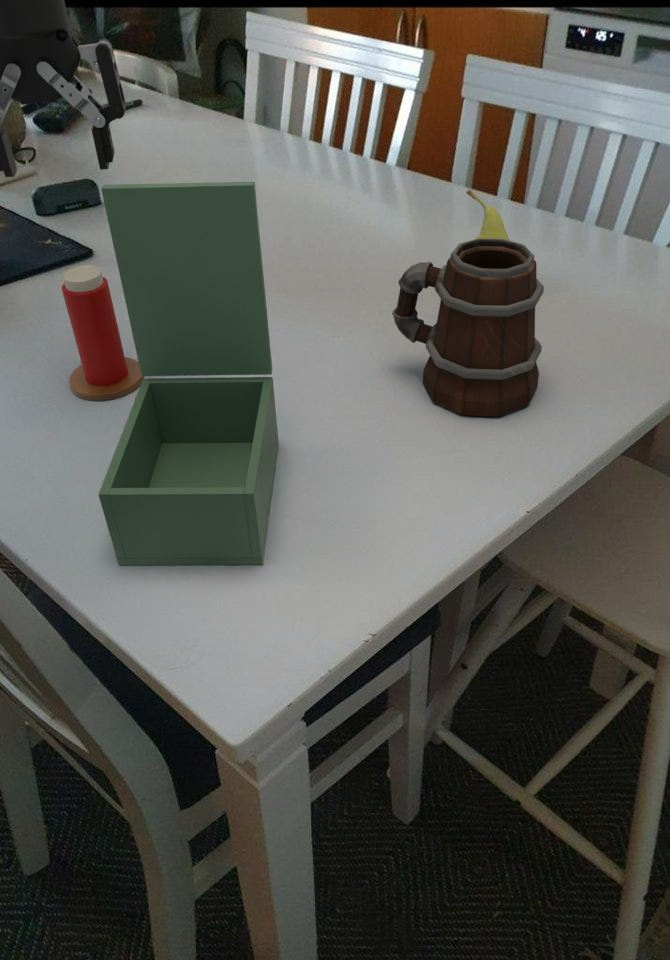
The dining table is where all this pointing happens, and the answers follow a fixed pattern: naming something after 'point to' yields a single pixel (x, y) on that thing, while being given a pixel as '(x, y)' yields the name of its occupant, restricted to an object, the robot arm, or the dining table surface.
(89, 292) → the sauce bottle
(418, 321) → the mug
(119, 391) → the disc
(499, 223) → the fruit
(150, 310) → the chest lid
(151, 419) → the chest
